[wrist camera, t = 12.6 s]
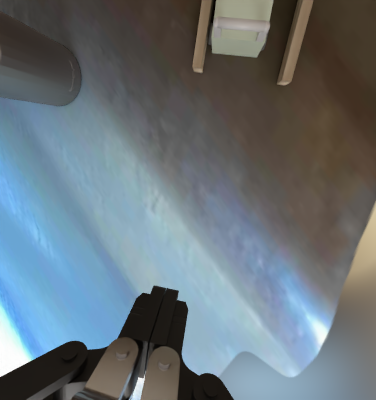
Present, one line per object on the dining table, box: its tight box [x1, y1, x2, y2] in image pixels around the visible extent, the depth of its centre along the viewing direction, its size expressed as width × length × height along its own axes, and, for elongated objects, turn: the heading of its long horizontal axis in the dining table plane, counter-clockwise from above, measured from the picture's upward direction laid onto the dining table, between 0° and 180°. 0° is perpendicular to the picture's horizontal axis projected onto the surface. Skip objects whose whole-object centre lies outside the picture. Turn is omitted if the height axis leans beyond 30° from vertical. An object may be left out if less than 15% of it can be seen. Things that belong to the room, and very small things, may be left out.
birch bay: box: [192, 0, 313, 86], centre depth 29 cm, size 13×14×5 cm
